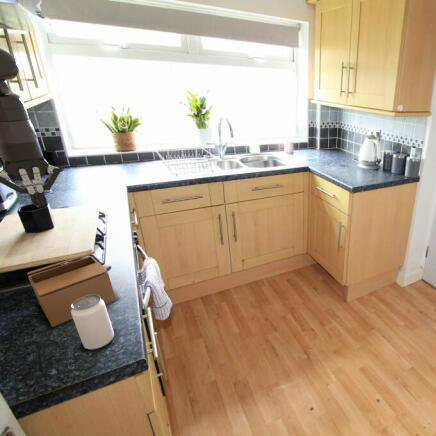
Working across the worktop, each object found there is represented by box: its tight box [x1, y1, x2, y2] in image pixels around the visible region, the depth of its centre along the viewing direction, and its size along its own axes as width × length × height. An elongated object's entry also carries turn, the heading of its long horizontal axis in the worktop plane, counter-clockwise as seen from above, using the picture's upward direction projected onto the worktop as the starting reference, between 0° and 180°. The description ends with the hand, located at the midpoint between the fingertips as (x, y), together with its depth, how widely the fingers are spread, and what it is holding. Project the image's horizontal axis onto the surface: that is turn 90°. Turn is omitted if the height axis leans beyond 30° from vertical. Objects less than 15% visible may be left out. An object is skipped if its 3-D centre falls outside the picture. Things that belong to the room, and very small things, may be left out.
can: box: [71, 295, 115, 350], centre depth 77 cm, size 6×6×12 cm
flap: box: [26, 251, 96, 276], centre depth 90 cm, size 15×7×1 cm, turn 140°
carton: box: [27, 255, 117, 328], centre depth 90 cm, size 15×14×10 cm
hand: (40, 205), depth 84 cm, fingers closed
